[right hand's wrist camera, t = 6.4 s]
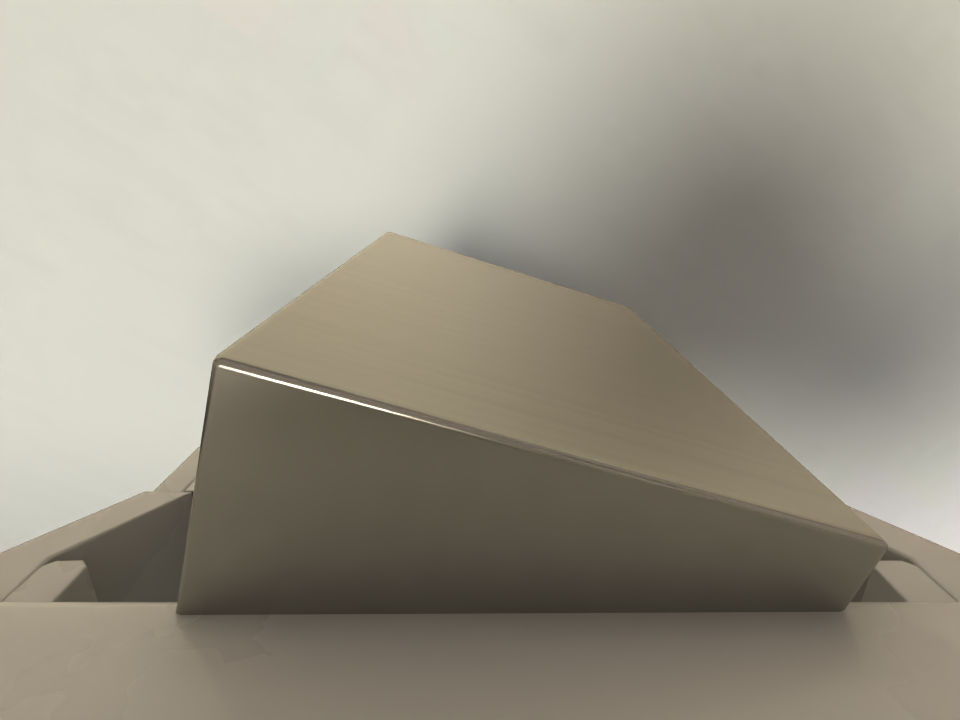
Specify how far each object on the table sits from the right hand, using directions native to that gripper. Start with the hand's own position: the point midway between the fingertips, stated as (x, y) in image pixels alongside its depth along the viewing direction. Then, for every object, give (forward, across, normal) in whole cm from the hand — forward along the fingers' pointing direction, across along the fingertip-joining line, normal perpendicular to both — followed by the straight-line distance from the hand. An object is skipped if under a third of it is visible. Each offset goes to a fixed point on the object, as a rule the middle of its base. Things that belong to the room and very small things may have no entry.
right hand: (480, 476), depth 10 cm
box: (+4, -2, -6) cm, 8 cm away
